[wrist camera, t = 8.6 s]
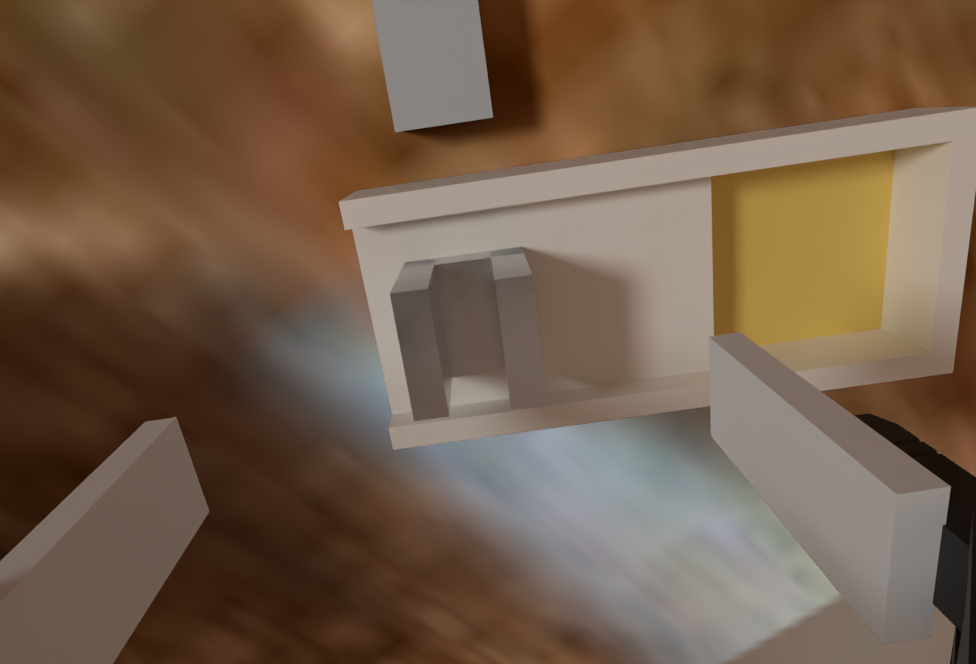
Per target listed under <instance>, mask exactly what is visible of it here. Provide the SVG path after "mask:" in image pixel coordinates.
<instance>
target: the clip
mask: <svg viewBox="0 0 976 664" xmlns="http://www.w3.org/2000/svg"><path fill="white" fill-rule="evenodd" d="M390 298H391V303H392V308H393V314H394V319H395V324H396V329H397V335H398V340H399V345H400V350H401V356H402V361H403V366H404V371H405V377H406V382H407V387H408V392H409V398H410V403H411V408H412V413H413V419H414V421H420V420H428V419H436V418H444V417H449V413H450V400H451V388H452V378H453V377H461V376H468V375H476V374H484V373H492V372H499V371H506V375H507V383H508V390H509V397H510V405H511V409H514V408H521V407H529V406H537V405H545V404H546V395H545V386H544V377H543V367H542V358H541V349H540V340H539V330H538V321H537V312H536V303H535V293H534V284H533V275H532V272H531V270H530V267H529V265H528V262H527V260H526V257H525V255H524V252H523V250H522V247H515V248H507V249H500V250H492V251H485V252H477V253H470V254H462V255H455V256H447V257H440V258H432V259H425V260H417V261H410V262H405V263H404V265H403V267H402V269H401V271H400V273H399V275H398V278H397V280H396V282H395V284H394V286H393V288H392V290H391V292H390Z"/></svg>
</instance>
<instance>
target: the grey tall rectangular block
mask: <svg viewBox="0 0 976 664" xmlns="http://www.w3.org/2000/svg"><path fill="white" fill-rule="evenodd" d="M371 3H372V8H373V13H374V19H375V24H376V30H377V35H378V41H379V46H380V52H381V57H382V63H383V68H384V74H385V79H386V85H387V90H388V96H389V101H390V107H391V112H392V117H393V123H394V128H395V132H400V131H407V130H414V129H421V128H427V127H434V126H441V125H447V124H454V123H461V122H467V121H474V120H481V119H487V118H493V112H492V105H491V97H490V89H489V82H488V74H487V66H486V59H485V51H484V43H483V36H482V28H481V20H480V13H479V5H478V0H371Z"/></svg>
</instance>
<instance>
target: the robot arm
mask: <svg viewBox="0 0 976 664" xmlns="http://www.w3.org/2000/svg"><path fill="white" fill-rule="evenodd" d="M709 368H710V417H711V437H712V438H713V439H714V440H715V441H716V443H717V444H718V445H719V446H720V448H721V449H722V450H723V451H724V452H725V454H726V455H727V456H728V457H729V459H730V460H731V461H732V462H733V463H734V465H735V466H736V467H737V468H738V469H739V471H740V472H741V473H742V474H743V476H744V477H745V478H746V479H747V480H748V482H749V483H750V484H751V485H752V487H753V488H754V489H755V490H756V491H757V493H758V494H759V495H760V496H761V498H762V499H763V500H764V501H765V502H766V504H767V505H768V506H769V507H770V509H771V510H772V511H773V512H774V513H775V515H776V516H777V517H778V518H779V520H780V521H781V522H782V523H783V524H784V526H785V527H786V528H787V529H788V531H789V532H790V533H791V534H792V535H793V537H794V538H795V539H796V540H797V541H798V543H799V544H800V545H801V546H802V548H803V549H804V550H805V551H806V552H807V554H808V555H809V556H810V557H811V559H812V560H813V561H814V562H815V563H816V565H817V566H818V567H819V568H820V570H821V571H822V572H823V573H824V574H825V576H826V577H827V578H828V579H829V581H830V582H831V583H832V584H833V585H834V587H835V588H836V589H837V590H838V592H839V593H840V594H841V595H842V596H843V598H844V599H845V600H846V601H847V603H848V604H849V605H850V606H851V607H852V609H853V610H854V611H855V612H856V613H857V615H858V616H859V617H860V618H861V620H862V621H863V622H864V623H865V624H866V626H867V627H868V628H869V629H870V631H871V632H872V633H873V634H874V635H875V637H876V638H877V639H878V640H879V641H880V643H881V644H882V645H883V644H890V643H896V642H903V641H909V640H916V639H923V638H929V637H931V632H932V624H933V616H934V609H935V606H936V607H937V608H938V609H939V610H940V611H941V612H942V613H943V614H944V615H945V616H946V617H947V618H948V619H949V620H950V621H951V622H952V623H953V624H954V625H955V626H956V627H955V634H954V641H953V648H952V654H951V661H950V664H976V477H974V476H973V475H971V474H970V473H969V472H967V471H966V470H964V469H963V468H961V467H960V466H958V465H957V464H955V463H954V462H952V461H951V460H949V459H948V458H946V457H945V456H943V455H942V454H937V451H936V450H935V449H933V448H932V447H930V446H929V445H927V444H926V443H924V442H920V441H919V439H918V438H917V437H916V436H914V435H913V434H911V433H910V432H908V431H907V430H905V429H904V428H902V427H901V426H899V425H898V424H895V423H893V422H890V421H887V420H885V419H882V418H879V417H877V416H874V415H872V414H863V415H856V416H854V415H853V414H851V413H850V412H848V411H847V410H846V409H844V408H843V407H842V406H840V405H839V404H837V403H836V402H835V401H833V400H832V399H831V398H829V397H828V396H827V395H825V394H824V393H822V392H821V391H820V390H818V389H817V388H816V387H814V386H813V385H812V384H810V383H809V382H807V381H806V380H805V379H803V378H802V377H801V376H799V375H798V374H796V373H795V372H794V371H792V370H791V369H790V368H788V367H787V366H786V365H784V364H783V363H781V362H780V361H779V360H777V359H776V358H775V357H773V356H772V355H771V354H769V353H768V352H766V351H765V350H764V349H762V348H761V347H760V346H758V345H757V344H755V343H754V342H753V341H751V340H750V339H749V338H747V337H746V336H745V335H743V334H742V333H740V332H737V333H730V334H724V335H717V336H710V337H709ZM208 513H209V509H208V506H207V503H206V500H205V497H204V495H203V492H202V489H201V486H200V483H199V480H198V477H197V475H196V472H195V469H194V466H193V463H192V460H191V457H190V455H189V452H188V449H187V446H186V443H185V440H184V437H183V435H182V432H181V429H180V426H179V423H178V420H177V417H173V418H167V419H160V420H153V421H147V422H144V423H143V424H142V425H141V426H140V427H139V428H138V429H137V430H136V431H135V432H134V433H133V434H132V435H131V436H130V437H129V438H128V439H127V440H126V441H125V442H124V443H123V444H122V445H121V446H119V447H118V448H117V449H116V450H115V451H114V452H113V453H112V454H111V455H110V456H109V457H108V458H107V459H106V460H105V461H104V462H103V463H102V464H101V465H100V466H99V467H98V468H97V469H96V470H95V471H93V472H92V473H91V474H90V475H89V476H88V477H87V478H86V479H85V480H84V481H83V482H82V483H81V484H80V485H79V486H78V487H77V488H76V489H75V490H74V491H73V492H72V493H71V494H70V495H69V496H67V497H66V498H65V499H64V500H63V501H62V502H61V503H60V504H59V505H58V506H57V507H56V508H55V509H54V510H53V511H52V512H51V513H50V514H49V515H48V516H47V517H46V518H45V519H44V520H43V521H41V522H40V523H39V524H38V525H37V526H36V527H35V528H34V529H33V530H32V531H31V532H30V533H29V534H28V535H27V536H26V537H25V538H24V539H23V540H22V541H21V542H20V543H19V544H18V545H17V546H15V547H14V548H13V549H12V550H10V551H9V552H7V553H6V554H4V555H3V556H1V557H0V664H113V663H114V662H115V660H116V658H117V657H118V655H119V654H120V652H121V650H122V649H123V647H124V646H125V644H126V643H127V641H128V639H129V638H130V636H131V635H132V633H133V632H134V630H135V628H136V627H137V625H138V624H139V622H140V620H141V619H142V617H143V616H144V614H145V613H146V611H147V609H148V608H149V606H150V605H151V603H152V602H153V600H154V598H155V597H156V595H157V594H158V592H159V590H160V589H161V587H162V586H163V584H164V583H165V581H166V579H167V578H168V576H169V575H170V573H171V572H172V570H173V568H174V567H175V565H176V564H177V562H178V560H179V559H180V557H181V556H182V554H183V553H184V551H185V549H186V548H187V546H188V545H189V543H190V542H191V540H192V538H193V537H194V535H195V534H196V532H197V530H198V529H199V527H200V526H201V524H202V523H203V521H204V519H205V518H206V516H207V515H208Z"/></svg>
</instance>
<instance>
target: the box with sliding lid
mask: <svg viewBox="0 0 976 664" xmlns="http://www.w3.org/2000/svg"><path fill="white" fill-rule="evenodd" d="M975 192H976V107H944V108H913V109H906V110H900V111H893V112H886V113H879V114H872V115H866V116H859V117H852V118H845V119H839V120H832V121H825V122H818V123H812V124H805V125H798V126H791V127H785V128H778V129H771V130H764V131H757V132H751V133H744V134H737V135H730V136H724V137H717V138H710V139H703V140H697V141H690V142H683V143H676V144H670V145H663V146H656V147H649V148H642V149H636V150H629V151H622V152H615V153H609V154H602V155H595V156H588V157H582V158H575V159H568V160H561V161H555V162H548V163H541V164H534V165H527V166H521V167H514V168H507V169H500V170H494V171H487V172H480V173H473V174H467V175H460V176H453V177H446V178H440V179H433V180H426V181H419V182H412V183H406V184H399V185H392V186H385V187H379V188H372V189H365V190H358V191H356V192H354V193H352V194H351V195H349V196H347V197H346V198H344V199H342V200H341V201H339V206H340V210H341V215H342V219H343V224H344V228H345V230H348V229H352V230H353V235H354V240H355V244H356V249H357V254H358V258H359V263H360V267H361V272H362V277H363V281H364V286H365V291H366V295H367V300H368V304H369V309H370V314H371V318H372V323H373V328H374V332H375V337H376V341H377V346H378V351H379V355H380V360H381V365H382V369H383V374H384V378H385V383H386V388H387V392H388V397H389V402H390V406H391V411H392V417H391V421H390V425H389V433H390V437H391V442H392V446H393V450H396V449H403V448H411V447H418V446H425V445H432V444H440V443H447V442H454V441H461V440H469V439H476V438H483V437H491V436H498V435H505V434H512V433H520V432H527V431H534V430H541V429H549V428H556V427H563V426H570V425H578V424H585V423H592V422H599V421H607V420H614V419H621V418H628V417H636V416H643V415H650V414H657V413H665V412H672V411H679V410H686V409H694V408H701V407H708V406H710V368H709V337H710V336H717V335H724V334H730V333H737V332H740V333H742V334H743V335H745V336H746V337H747V338H749V339H750V340H751V341H753V342H754V343H755V344H757V345H758V346H760V347H761V348H762V349H764V350H765V351H766V352H768V353H769V354H771V355H772V356H773V357H775V358H776V359H777V360H779V361H780V362H781V363H783V364H784V365H786V366H787V367H788V368H790V369H791V370H792V371H794V372H795V373H796V374H798V375H799V376H801V377H802V378H803V379H805V380H806V381H807V382H809V383H810V384H812V385H813V386H814V387H816V388H817V389H818V390H820V391H824V390H832V389H839V388H846V387H853V386H861V385H868V384H875V383H882V382H890V381H897V380H904V379H912V378H919V377H926V376H933V375H941V374H948V373H953V368H954V360H955V352H956V344H957V336H958V328H959V320H960V312H961V304H962V296H963V288H964V280H965V272H966V264H967V256H968V248H969V240H970V232H971V224H972V216H973V208H974V200H975ZM515 247H522V250H523V252H524V255H525V257H526V260H527V262H528V265H529V267H530V270H531V272H532V275H533V284H534V293H535V303H536V312H537V321H538V330H539V340H540V349H541V358H542V367H543V377H544V386H545V395H546V404H545V405H537V406H529V407H521V408H514V409H511V405H510V397H509V390H508V383H507V375H506V371H499V372H492V373H484V374H476V375H468V376H461V377H453V378H452V388H451V400H450V413H449V417H444V418H436V419H428V420H420V421H414V419H413V413H412V408H411V403H410V398H409V392H408V387H407V382H406V377H405V371H404V366H403V361H402V356H401V350H400V345H399V340H398V335H397V329H396V324H395V319H394V314H393V308H392V303H391V298H390V292H391V290H392V288H393V286H394V284H395V282H396V280H397V278H398V275H399V273H400V271H401V269H402V267H403V265H404V263H405V262H410V261H417V260H425V259H432V258H440V257H447V256H455V255H462V254H470V253H477V252H485V251H492V250H500V249H507V248H515Z"/></svg>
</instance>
